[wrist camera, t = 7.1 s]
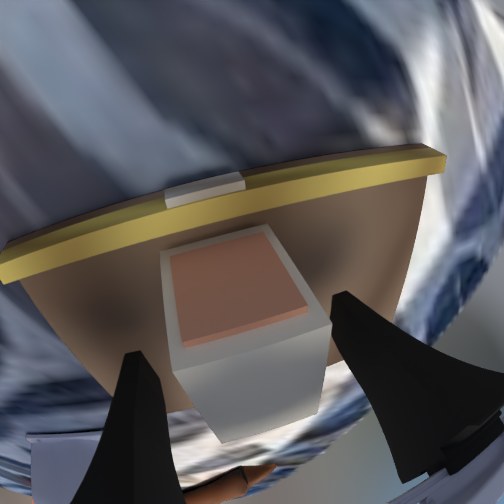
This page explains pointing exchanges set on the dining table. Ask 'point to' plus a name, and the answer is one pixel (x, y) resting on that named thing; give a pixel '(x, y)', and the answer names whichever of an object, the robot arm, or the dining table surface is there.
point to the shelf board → (215, 224)
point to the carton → (244, 332)
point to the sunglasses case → (229, 485)
